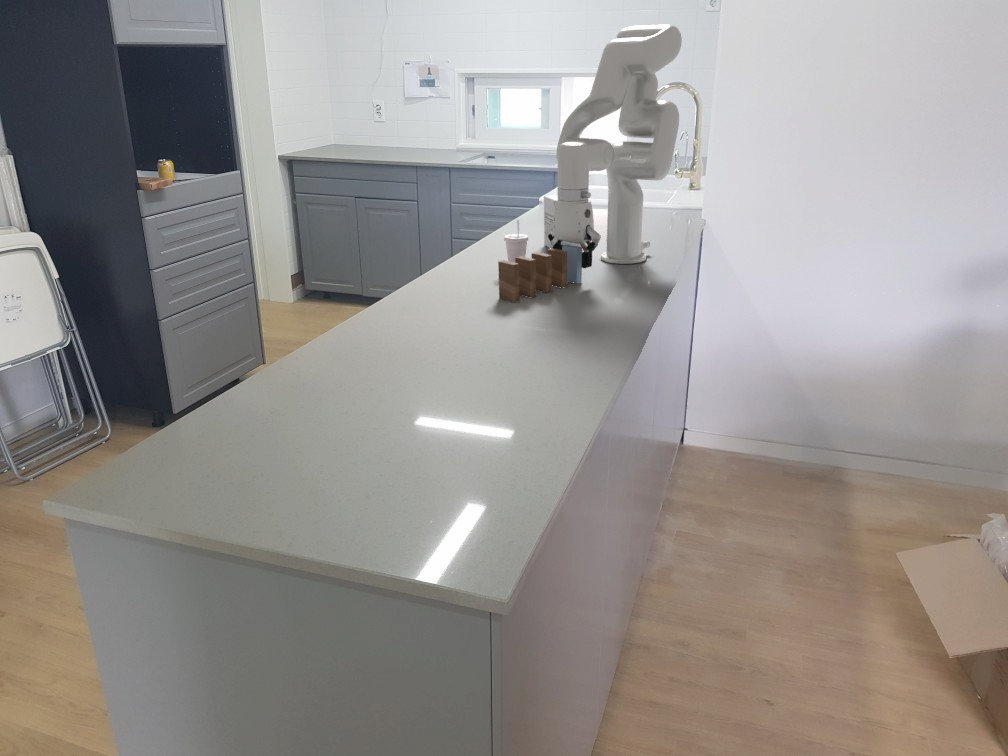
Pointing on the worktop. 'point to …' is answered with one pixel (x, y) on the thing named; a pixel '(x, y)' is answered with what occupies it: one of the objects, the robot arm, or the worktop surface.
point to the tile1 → (573, 263)
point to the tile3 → (543, 271)
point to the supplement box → (551, 219)
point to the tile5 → (508, 281)
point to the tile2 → (558, 267)
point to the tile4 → (527, 276)
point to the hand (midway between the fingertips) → (572, 264)
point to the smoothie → (516, 244)
